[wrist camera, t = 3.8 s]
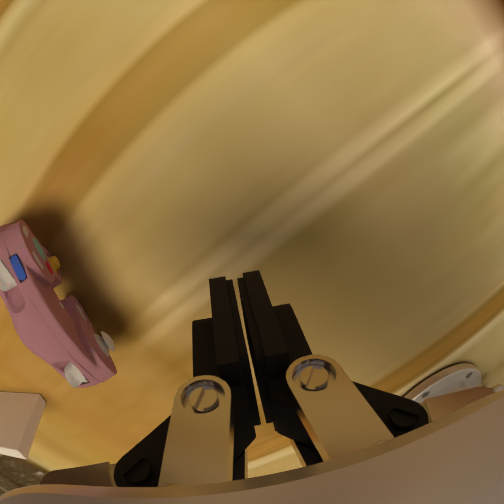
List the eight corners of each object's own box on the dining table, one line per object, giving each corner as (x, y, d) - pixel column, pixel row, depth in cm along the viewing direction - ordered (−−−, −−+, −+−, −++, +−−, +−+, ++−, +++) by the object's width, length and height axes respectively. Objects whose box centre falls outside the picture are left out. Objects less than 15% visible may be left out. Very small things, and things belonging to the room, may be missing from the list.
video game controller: (115, 330, 20) (140, 387, 14) (64, 363, 18) (73, 430, 12) (39, 199, 16) (23, 208, 10) (-18, 239, 14) (-56, 267, 8)
